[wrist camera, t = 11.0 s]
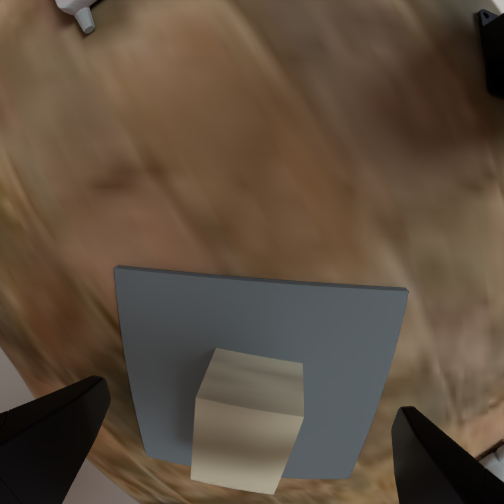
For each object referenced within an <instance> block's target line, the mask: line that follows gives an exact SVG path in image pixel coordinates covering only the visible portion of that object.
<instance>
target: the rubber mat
mask: <svg viewBox="0 0 504 504" xmlns="http://www.w3.org/2000/svg"><path fill="white" fill-rule="evenodd" d="M114 275H115V286H116V295H117V304H118V313H119V321H120V328H121V335H122V342H123V348H124V354H125V360H126V366H127V372H128V377H129V382H130V387H131V392H132V397H133V402H134V406H135V411H136V415H137V420H138V424H139V428H140V432H141V436H142V440H143V444H144V448H145V451H146V455H147V456H148V457H152V458H156V459H160V460H165V461H169V462H173V463H178V464H183V465H188V466H192V447H193V431H194V416H195V402H196V396H197V393H198V391H199V388H200V386H201V383H202V381H203V379H204V376H205V374H206V371H207V369H208V366H209V364H210V361H211V359H212V357H213V354H214V352H215V349H216V348H220V349H225V350H230V351H235V352H240V353H245V354H250V355H256V356H261V357H267V358H273V359H278V360H285V361H291V362H297V363H303V387H304V419H303V422H302V425H301V427H300V430H299V433H298V435H297V438H296V441H295V443H294V446H293V448H292V451H291V454H290V456H289V459H288V461H287V464H286V466H285V469H284V471H283V473H282V476H281V478H298V479H349V477H350V475H351V472H352V470H353V468H354V466H355V463H356V461H357V459H358V456H359V454H360V451H361V449H362V446H363V444H364V441H365V439H366V436H367V434H368V431H369V428H370V426H371V423H372V420H373V418H374V415H375V412H376V409H377V406H378V403H379V400H380V398H381V394H382V391H383V388H384V385H385V382H386V379H387V376H388V372H389V369H390V366H391V362H392V359H393V355H394V351H395V348H396V344H397V340H398V336H399V332H400V328H401V324H402V320H403V316H404V312H405V307H406V303H407V298H408V293H409V291H408V290H407V289H406V288H401V287H382V286H365V285H348V284H332V283H317V282H303V281H289V280H276V279H263V278H250V277H238V276H226V275H214V274H202V273H191V272H180V271H170V270H159V269H149V268H139V267H129V266H119V265H118V266H117V267H115V268H114Z"/></svg>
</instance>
